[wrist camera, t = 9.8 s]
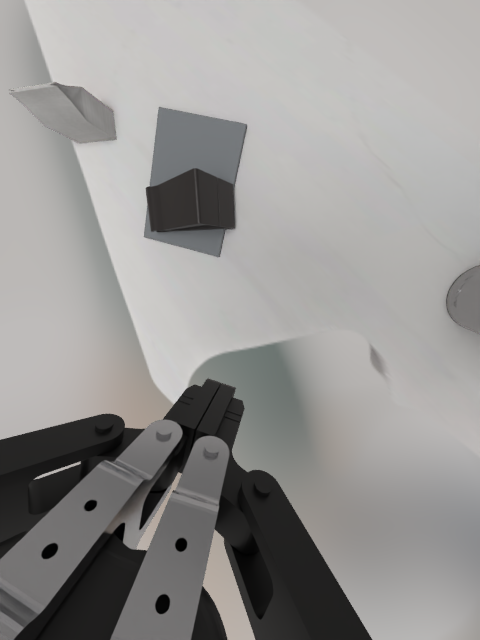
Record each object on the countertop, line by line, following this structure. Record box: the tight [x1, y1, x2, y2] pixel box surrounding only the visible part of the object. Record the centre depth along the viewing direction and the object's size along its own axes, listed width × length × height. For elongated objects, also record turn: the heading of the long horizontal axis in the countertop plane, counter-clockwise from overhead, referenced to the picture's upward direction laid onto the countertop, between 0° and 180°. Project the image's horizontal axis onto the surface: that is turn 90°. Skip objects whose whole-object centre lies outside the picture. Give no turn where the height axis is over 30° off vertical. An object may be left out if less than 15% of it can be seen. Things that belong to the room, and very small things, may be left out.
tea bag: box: [10, 82, 117, 143], centre depth 34 cm, size 4×7×10 cm, turn 90°
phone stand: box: [146, 168, 234, 232], centre depth 36 cm, size 9×6×12 cm
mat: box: [144, 107, 247, 257], centre depth 38 cm, size 13×18×1 cm
